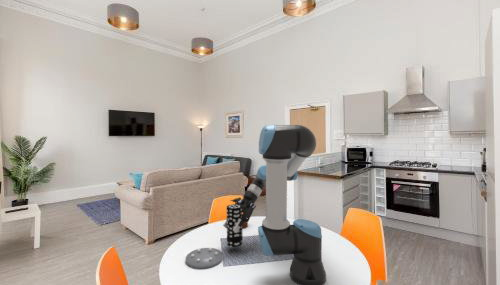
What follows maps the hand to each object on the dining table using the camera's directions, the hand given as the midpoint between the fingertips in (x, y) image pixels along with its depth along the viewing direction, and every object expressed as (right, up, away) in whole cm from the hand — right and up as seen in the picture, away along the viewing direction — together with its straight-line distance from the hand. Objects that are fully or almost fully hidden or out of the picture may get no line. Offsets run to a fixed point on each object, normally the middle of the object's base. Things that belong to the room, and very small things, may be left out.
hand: (229, 229), depth 125 cm
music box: (+5, -12, +37) cm, 39 cm away
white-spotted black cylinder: (+3, -9, +2) cm, 10 cm away
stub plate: (-12, -12, -7) cm, 18 cm away
